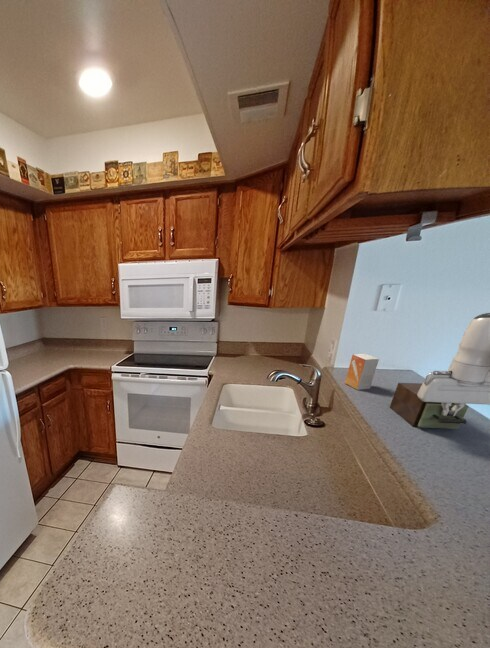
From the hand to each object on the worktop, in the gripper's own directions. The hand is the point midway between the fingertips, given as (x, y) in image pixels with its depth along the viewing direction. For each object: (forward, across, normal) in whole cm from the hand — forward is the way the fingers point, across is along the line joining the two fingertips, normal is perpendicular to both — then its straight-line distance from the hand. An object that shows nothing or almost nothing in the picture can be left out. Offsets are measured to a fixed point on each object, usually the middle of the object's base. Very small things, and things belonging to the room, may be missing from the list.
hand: (447, 415), depth 100 cm
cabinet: (+6, 0, +11) cm, 13 cm away
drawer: (+5, 0, +6) cm, 8 cm away
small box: (+6, -9, +41) cm, 43 cm away
